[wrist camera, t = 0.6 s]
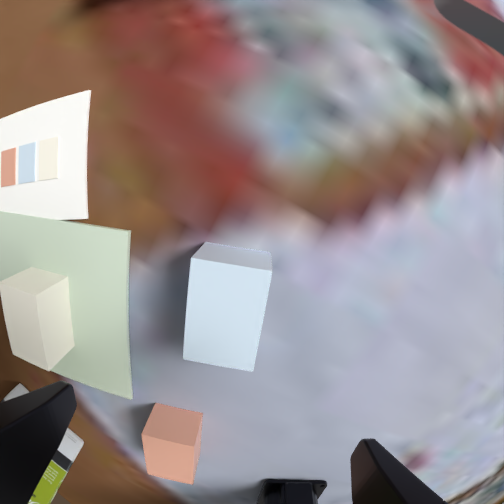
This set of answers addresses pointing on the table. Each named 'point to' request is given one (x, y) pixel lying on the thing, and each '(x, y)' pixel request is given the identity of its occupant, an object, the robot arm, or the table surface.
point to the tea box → (58, 463)
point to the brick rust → (172, 443)
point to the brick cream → (38, 316)
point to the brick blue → (226, 305)
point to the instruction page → (46, 159)
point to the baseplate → (80, 291)
